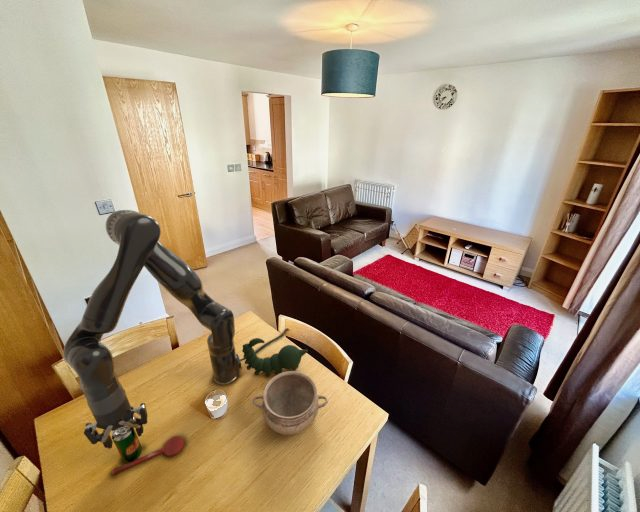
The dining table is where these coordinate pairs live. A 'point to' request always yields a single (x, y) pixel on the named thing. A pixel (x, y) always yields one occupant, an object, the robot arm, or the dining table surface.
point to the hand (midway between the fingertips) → (125, 439)
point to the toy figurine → (272, 358)
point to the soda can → (127, 443)
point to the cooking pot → (290, 402)
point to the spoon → (156, 453)
